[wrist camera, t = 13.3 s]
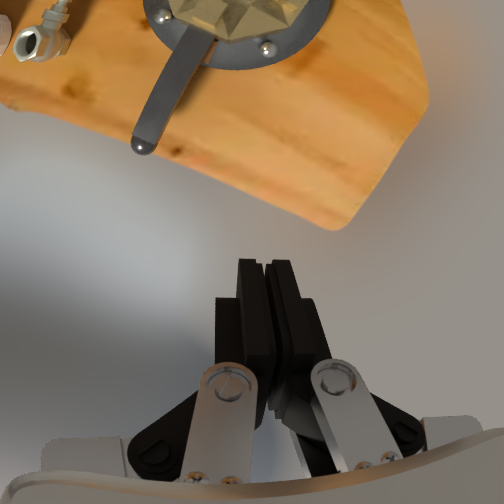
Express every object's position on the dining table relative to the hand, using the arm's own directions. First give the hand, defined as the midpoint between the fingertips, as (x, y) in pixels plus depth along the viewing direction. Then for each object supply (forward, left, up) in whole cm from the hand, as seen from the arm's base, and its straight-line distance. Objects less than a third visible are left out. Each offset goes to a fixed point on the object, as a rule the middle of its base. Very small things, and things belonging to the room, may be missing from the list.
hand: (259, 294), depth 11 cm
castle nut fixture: (-9, -7, -23) cm, 25 cm away
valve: (-9, -23, -26) cm, 35 cm away
